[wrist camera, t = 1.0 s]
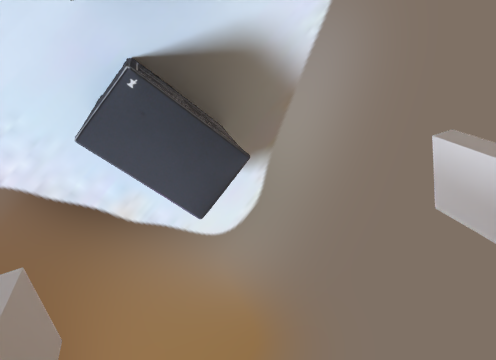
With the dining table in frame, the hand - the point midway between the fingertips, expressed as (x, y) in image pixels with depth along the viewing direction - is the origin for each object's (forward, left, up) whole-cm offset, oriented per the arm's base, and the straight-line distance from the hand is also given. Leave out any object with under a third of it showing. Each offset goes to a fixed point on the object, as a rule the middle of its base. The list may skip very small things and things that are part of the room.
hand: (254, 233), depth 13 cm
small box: (+1, -2, -27) cm, 27 cm away
